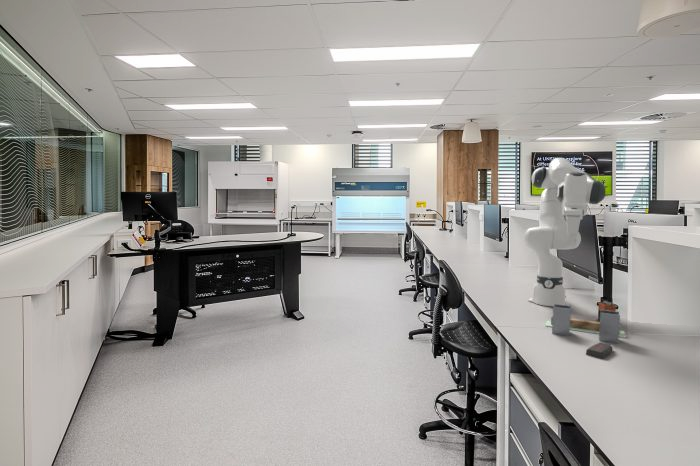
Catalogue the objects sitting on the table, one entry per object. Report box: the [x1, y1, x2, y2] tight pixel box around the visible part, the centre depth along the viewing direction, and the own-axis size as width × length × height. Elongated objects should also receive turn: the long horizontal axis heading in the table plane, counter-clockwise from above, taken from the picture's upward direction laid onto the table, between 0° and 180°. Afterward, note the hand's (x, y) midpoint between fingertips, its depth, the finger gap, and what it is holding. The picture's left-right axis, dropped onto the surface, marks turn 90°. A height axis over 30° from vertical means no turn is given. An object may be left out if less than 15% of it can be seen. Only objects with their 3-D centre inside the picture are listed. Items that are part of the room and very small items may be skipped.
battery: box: [597, 300, 617, 322], centre depth 176 cm, size 4×7×10 cm, turn 168°
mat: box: [545, 320, 627, 339], centre depth 169 cm, size 8×28×1 cm, turn 60°
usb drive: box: [585, 341, 614, 360], centre depth 143 cm, size 5×12×3 cm, turn 130°
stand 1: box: [551, 304, 572, 337], centre depth 164 cm, size 6×6×10 cm
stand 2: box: [598, 310, 621, 344], centre depth 157 cm, size 6×6×10 cm
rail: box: [550, 315, 621, 334], centre depth 169 cm, size 24×3×3 cm, turn 60°
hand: (572, 243), depth 175 cm, fingers open, 8 cm apart
